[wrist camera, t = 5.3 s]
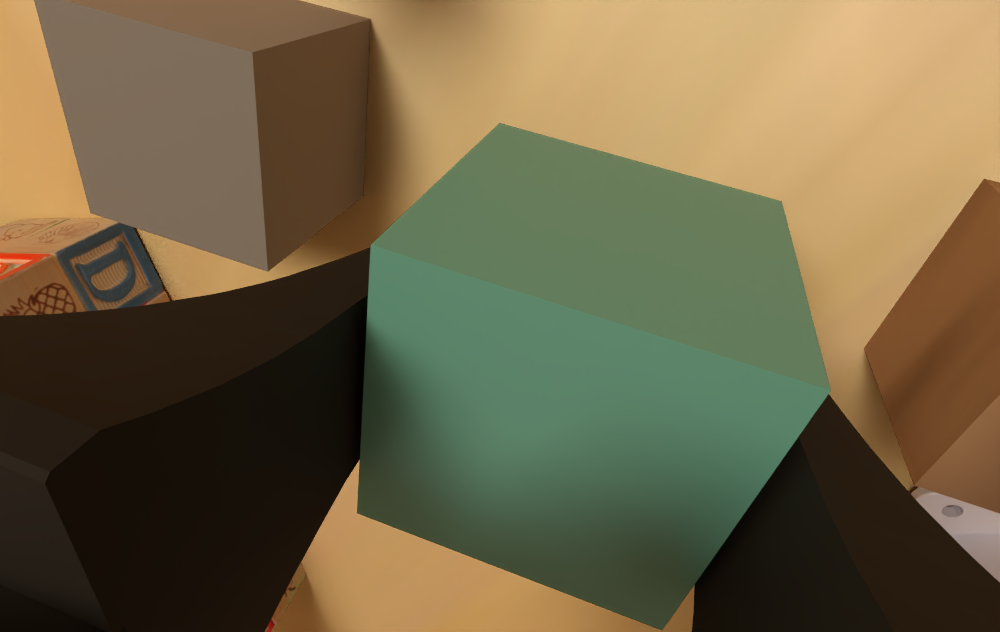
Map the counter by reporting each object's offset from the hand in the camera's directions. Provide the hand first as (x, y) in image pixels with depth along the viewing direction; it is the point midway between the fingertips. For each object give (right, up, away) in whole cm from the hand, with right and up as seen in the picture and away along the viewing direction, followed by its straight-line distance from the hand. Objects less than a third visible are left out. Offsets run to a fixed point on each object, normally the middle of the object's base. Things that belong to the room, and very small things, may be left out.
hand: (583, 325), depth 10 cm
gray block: (-8, +7, +7) cm, 12 cm away
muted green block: (0, +1, +1) cm, 2 cm away
